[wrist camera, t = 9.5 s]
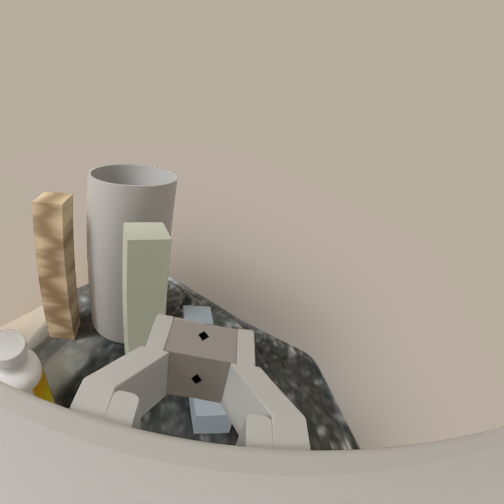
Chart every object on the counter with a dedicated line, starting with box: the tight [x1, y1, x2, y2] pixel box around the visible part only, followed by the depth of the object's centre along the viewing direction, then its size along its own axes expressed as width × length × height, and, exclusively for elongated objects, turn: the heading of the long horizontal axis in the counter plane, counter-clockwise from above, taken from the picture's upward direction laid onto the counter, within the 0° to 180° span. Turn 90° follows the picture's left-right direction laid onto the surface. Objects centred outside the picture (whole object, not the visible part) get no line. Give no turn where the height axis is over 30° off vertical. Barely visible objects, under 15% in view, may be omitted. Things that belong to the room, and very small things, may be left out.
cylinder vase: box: [87, 164, 177, 344], centre depth 46 cm, size 12×12×25 cm
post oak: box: [32, 192, 81, 340], centre depth 41 cm, size 4×4×22 cm
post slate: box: [182, 305, 232, 434], centre depth 44 cm, size 4×4×22 cm
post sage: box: [122, 222, 172, 355], centre depth 37 cm, size 4×4×22 cm
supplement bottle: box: [0, 330, 55, 404], centre depth 27 cm, size 7×7×13 cm
